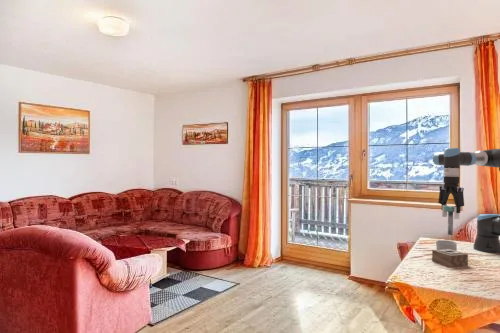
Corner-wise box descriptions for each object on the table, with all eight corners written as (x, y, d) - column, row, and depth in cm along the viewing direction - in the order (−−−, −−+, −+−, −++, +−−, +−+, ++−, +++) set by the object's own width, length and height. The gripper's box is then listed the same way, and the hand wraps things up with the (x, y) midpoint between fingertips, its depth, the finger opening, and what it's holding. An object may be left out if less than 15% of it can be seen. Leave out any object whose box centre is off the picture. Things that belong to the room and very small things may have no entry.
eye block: (448, 259, 195) (448, 248, 195) (467, 265, 183) (468, 253, 183) (432, 260, 191) (432, 249, 191) (450, 267, 180) (450, 255, 180)
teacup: (459, 258, 198) (459, 244, 197) (439, 256, 200) (439, 243, 200) (450, 252, 211) (450, 239, 211) (431, 251, 213) (431, 238, 213)
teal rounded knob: (439, 233, 189) (440, 206, 189) (449, 233, 191) (450, 205, 191) (450, 236, 183) (451, 207, 183) (460, 235, 185) (461, 207, 185)
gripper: (431, 175, 195) (430, 215, 195) (462, 176, 176) (461, 221, 176) (441, 175, 197) (440, 214, 198) (473, 176, 178) (472, 220, 179)
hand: (450, 217), depth 187 cm, fingers closed on teal rounded knob, 7 cm apart
